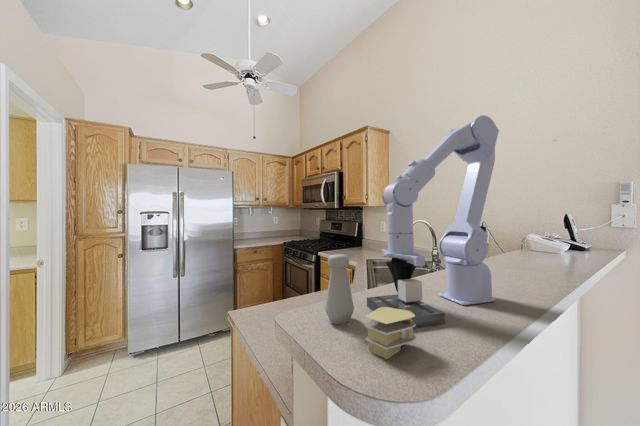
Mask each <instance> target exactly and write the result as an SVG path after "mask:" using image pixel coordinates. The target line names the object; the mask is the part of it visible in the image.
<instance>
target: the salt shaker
mask: <svg viewBox="0 0 640 426" xmlns="http://www.w3.org/2000/svg"><path fill="white" fill-rule="evenodd" d="M327 265H328V267H329V268H330V273H329V281H328V286H327V292H326V297H325V298H326V299H325V304H324V305H325V306H324V311H325V313H326V315H327V318H328V320H329V322H330V323H331V324H332V323H333V324H335V325H344V324H348V323H349V322H350V321H351V318H352V316H353V313H354V310H355V306H354V301H353V295H352V289H351V285H350V280H349V275H348V267H349V266H350V258H349V256H348V255H346V254H341V253H336V254H335V253H334V254H331V255H329V256H328V257H327Z"/></svg>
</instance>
